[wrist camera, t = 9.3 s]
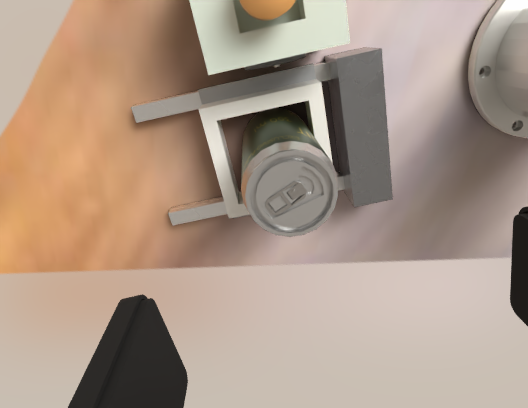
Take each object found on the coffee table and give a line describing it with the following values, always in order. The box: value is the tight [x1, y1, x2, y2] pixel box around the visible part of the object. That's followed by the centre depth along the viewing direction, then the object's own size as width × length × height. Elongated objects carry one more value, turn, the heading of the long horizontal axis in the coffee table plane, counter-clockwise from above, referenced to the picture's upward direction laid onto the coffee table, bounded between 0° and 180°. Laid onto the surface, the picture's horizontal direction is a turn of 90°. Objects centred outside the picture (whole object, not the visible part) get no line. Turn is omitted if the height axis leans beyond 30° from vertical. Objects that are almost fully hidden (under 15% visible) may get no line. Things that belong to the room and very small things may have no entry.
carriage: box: [198, 64, 333, 218], centre depth 28 cm, size 8×11×2 cm
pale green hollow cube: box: [189, 0, 350, 75], centre depth 23 cm, size 8×8×8 cm
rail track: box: [131, 47, 393, 226], centre depth 29 cm, size 18×11×4 cm, turn 102°
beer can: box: [241, 108, 338, 237], centre depth 25 cm, size 5×5×12 cm
